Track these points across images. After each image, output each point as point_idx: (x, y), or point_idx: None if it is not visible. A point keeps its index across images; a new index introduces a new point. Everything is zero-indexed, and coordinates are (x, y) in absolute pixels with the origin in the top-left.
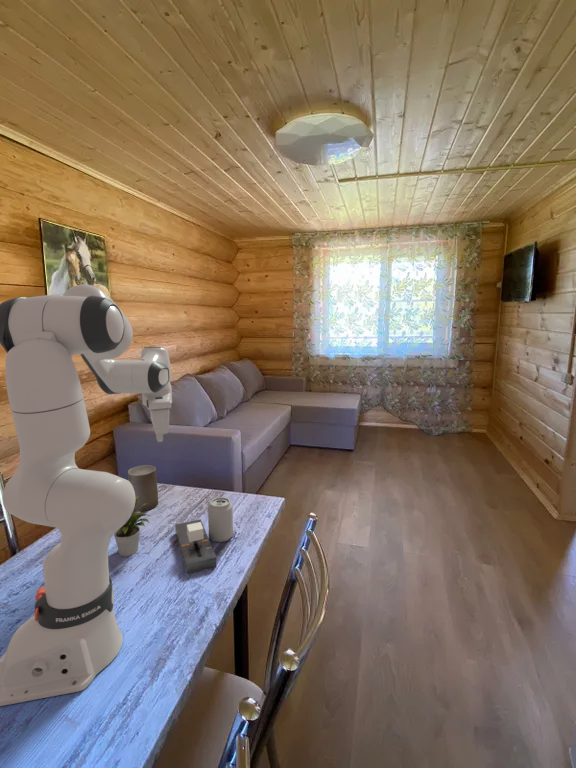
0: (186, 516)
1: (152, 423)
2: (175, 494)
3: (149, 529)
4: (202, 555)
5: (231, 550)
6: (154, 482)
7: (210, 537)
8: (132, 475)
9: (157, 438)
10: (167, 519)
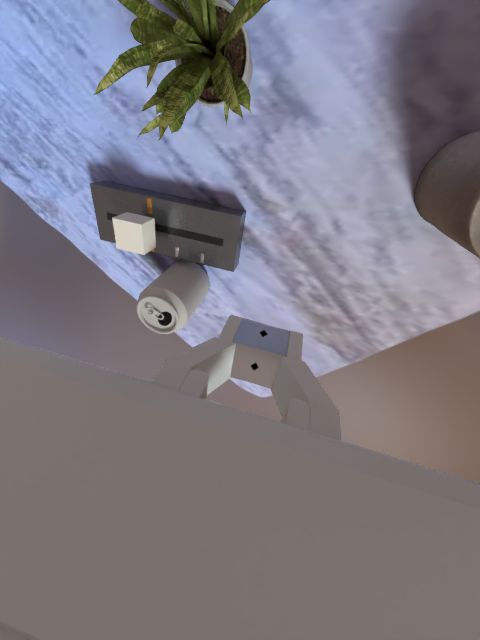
0: (302, 259)
1: (292, 454)
2: (442, 282)
3: (301, 156)
4: (110, 221)
5: (147, 273)
6: (449, 233)
7: (181, 261)
8: None
9: (224, 330)
10: (320, 215)
